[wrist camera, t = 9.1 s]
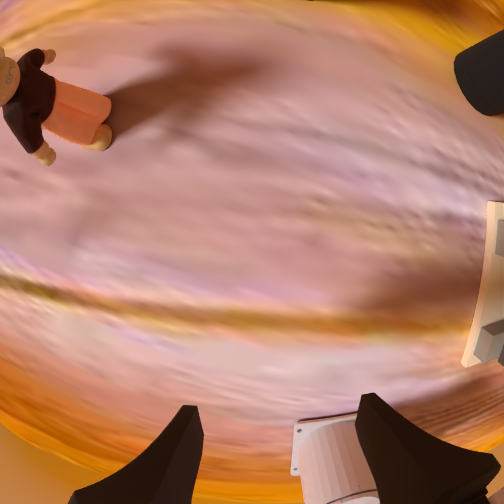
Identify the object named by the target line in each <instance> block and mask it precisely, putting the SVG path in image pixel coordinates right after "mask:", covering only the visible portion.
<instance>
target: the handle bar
mask: <svg viewBox="0 0 504 504" xmlns="http://www.w3.org/2000/svg"><path fill="white" fill-rule="evenodd" d="M498 362H499V363H500V364H501V365H502V366H504V345H503V348H502V351H501V354H500V356H499V359H498Z"/></svg>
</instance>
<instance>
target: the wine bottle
mask: <svg viewBox="0 0 504 504" xmlns="http://www.w3.org/2000/svg"><path fill="white" fill-rule="evenodd" d="M454 72H455V75H456V79H457V82H458V84H459V86H460V88H461V91H462V93H463V94H464V95H465V97H466V98H467V100H468V102H469V103H470V104H471V105H472V106H473V107H474V108H475V109H476V110H477V111H479V112H480V113H482V114H484V115H488V116H492V115H496V114H501V113H504V30H502V31H500V32H498V33H496V34H494V35H492V36H490V37H488V38H486V39H484V40H482V41H480V42H479V43H477V44H475V45H473V46H471V47H469V48H468V49H466V50H464V51H462V52H460V53H459V54H458V55H457V56H456V58H455V61H454Z"/></svg>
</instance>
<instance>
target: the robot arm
mask: <svg viewBox="0 0 504 504" xmlns="http://www.w3.org/2000/svg"><path fill="white" fill-rule="evenodd" d="M298 429H300V430H298ZM203 440H204V433H203V429H202V425H201V421H200V416H199V412H198V408H197V406H191V405H183V406H182V407H181V408H180V410H179V411H178V412H177V414H176V415H175V417H174V418H173V419H172V420H171V422H170V423H169V424H168V426H167V427H166V428H165V429H164V430H163V431H162V433H161V434H160V435H159V436H158V437H157V438H156V439H155V440H154V441H153V442H152V443H151V444H150V445H149V447H148V448H147V449H145V450H144V451H143V452H142V453H141V454H140V455H139V456H138V457H136V458H135V459H134V460H133V461H131V462H130V463H129V464H127V465H126V466H125V467H123V468H122V469H120V470H119V471H117V472H116V473H114V474H112V475H110V476H108V477H107V478H105V479H103V480H101V481H99V482H97V483H95V484H92V485H90V486H87V487H84V488H82V489H79V490H76V491H74V493H73V495H72V496H71V498H70V500H69V502H68V504H191V500H192V494H193V489H194V485H195V481H196V477H197V473H198V469H199V465H200V460H201V456H202V450H203ZM500 468H501V465H500V464H499V462H498V461H497V460H496V458H495V457H494V456H493V454H490V453H483V452H477V451H472V450H468V449H464V448H461V447H458V446H455V445H452V444H450V443H447V442H445V441H442V440H440V439H438V438H436V437H434V436H432V435H430V434H428V433H427V432H425V431H423V430H422V429H420V428H418V427H417V426H415V425H414V424H412V423H411V422H410V421H408V420H407V419H405V418H404V417H403V416H402V415H400V414H399V413H398V412H397V411H395V410H394V409H393V408H392V407H391V406H389V405H388V404H387V403H386V402H385V401H383V400H382V399H381V398H380V397H379V396H378V395H376V394H375V393H368V394H363V395H361V400H360V404H359V409H358V413H355V414H350V415H344V416H338V417H331V418H324V419H316V420H307V421H299V422H296V423H295V424H294V434H293V448H292V460H291V471H290V472H291V475H293V476H295V475H300V477H301V484H302V491H303V498H304V504H504V487H503V488H501V489H500V490H499V491H497V492H496V493H494V494H493V495H492V496H490V497H489V498H488V499H487V497H486V496H485V495H486V494H487V493H488V491H487V489H486V486H487V485H488V484H489V483H490V482H491V481H492V480H493V479H494V477H495V476H496V475H497V474H498V472H499V471H500Z"/></svg>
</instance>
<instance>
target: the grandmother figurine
mask: <svg viewBox="0 0 504 504" xmlns="http://www.w3.org/2000/svg"><path fill="white" fill-rule="evenodd" d="M55 56H56V53H55V51H54V50H53V49H48V50H40V49H37V48H36V49H33V50H31V51H29V52H27V53H26V54H24V55H23V56H22V57H21V58H20V59H19V60H18V62H17V63H16V62H15V61H14V60H13V59H11V58H9V57H5V54H4V49H3V48H2V47H0V107H1V106H2V108H3V117H4V119H5V121H6V123H7V124H8V126H9V127H10V129H11V131H12V132H13V133H14V135H15V136H16V138H17V139H18V141H19V142H20V143H21V145H22V146H23V148H24V149H25V150H26V152H28V153H29V154H31V155H33V156H34V157H35V158H36V159H40V162H41V163H42V164H43V165H45V166H50V165H51V164H52V163H53V162H54V161H55V159H56V153H55V151H54V150H53V149H52V148H49V145H48V144H47V142H46V141H45V140H44V138H43V136H42V129H45V130H48V131H49V132H51V133H52V134H54V135H56V136H58V137H59V138H61V139H63V140H65V141H68V142H71V143H76V144H79V145H81V146H82V147H83V148H84V149H87V150H94V151H102V150H104V149H106V148H107V147H108V146H109V145H110V143H111V139H112V130H111V128H110V127H109V126H108V125H105V124H102V125H101V123H102V122H103V121H104V120H105V119H106V118H107V117H108V115H109V114H110V110H111V101H110V99H109V98H107V97H106V96H104V95H100V94H98V93H95V92H92V91H89V90H86V89H83V88H80V87H77V86H74V85H71V84H68V83H64V82H60V81H58V80H57V79H55V78H54V77H52V76H49V75H48V74H46V73H45V72H43V71H41V70H40V68H41V67H42V65H43V64H45V65H47V64H50V63H51V62H53V60H54V59H55Z"/></svg>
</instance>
